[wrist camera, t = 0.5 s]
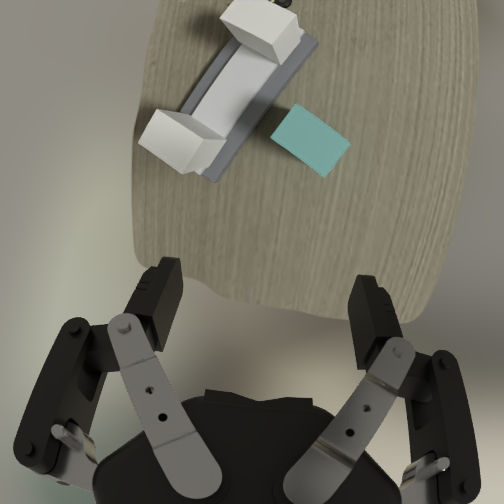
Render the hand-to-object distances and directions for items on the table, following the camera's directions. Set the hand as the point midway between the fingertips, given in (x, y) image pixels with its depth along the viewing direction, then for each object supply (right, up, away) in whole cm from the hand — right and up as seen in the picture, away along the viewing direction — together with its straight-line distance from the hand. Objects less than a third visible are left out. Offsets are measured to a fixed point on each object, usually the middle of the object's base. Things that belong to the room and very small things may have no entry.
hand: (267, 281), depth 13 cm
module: (+6, +14, +21) cm, 26 cm away
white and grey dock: (-2, +21, +20) cm, 29 cm away
